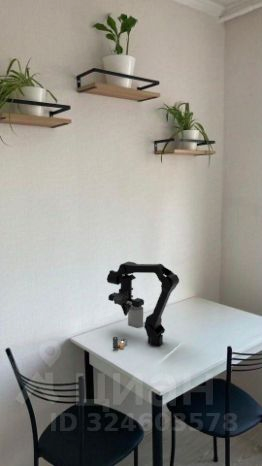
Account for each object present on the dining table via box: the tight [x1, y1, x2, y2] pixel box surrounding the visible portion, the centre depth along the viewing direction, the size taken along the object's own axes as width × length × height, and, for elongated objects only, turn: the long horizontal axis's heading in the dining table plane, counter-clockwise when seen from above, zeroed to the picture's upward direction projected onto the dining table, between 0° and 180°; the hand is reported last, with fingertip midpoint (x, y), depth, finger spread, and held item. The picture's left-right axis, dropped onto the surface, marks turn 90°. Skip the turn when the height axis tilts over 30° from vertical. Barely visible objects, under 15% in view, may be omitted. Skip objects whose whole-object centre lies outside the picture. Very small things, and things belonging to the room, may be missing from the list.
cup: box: [127, 305, 144, 329], centre depth 219 cm, size 8×8×10 cm
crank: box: [112, 336, 128, 350], centre depth 190 cm, size 10×4×6 cm, turn 148°
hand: (125, 315), depth 202 cm, fingers closed
